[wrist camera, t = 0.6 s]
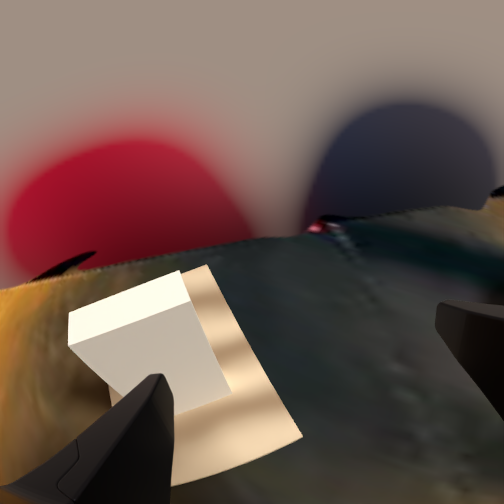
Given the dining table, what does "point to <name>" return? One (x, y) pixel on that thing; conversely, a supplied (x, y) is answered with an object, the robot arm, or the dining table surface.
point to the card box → (149, 342)
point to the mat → (230, 407)
